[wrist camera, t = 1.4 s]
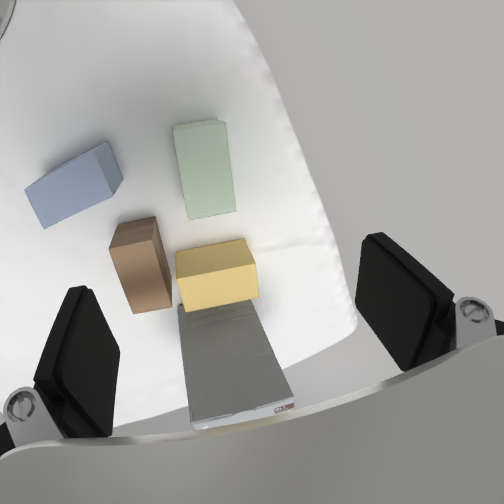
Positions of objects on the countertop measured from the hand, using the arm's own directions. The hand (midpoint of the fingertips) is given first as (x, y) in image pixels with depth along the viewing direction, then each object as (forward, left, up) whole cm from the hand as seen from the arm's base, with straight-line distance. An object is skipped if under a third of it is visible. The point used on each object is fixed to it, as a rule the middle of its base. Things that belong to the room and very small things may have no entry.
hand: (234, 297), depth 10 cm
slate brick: (-1, -11, -19) cm, 22 cm away
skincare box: (+17, -1, -19) cm, 26 cm away
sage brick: (0, 0, -19) cm, 19 cm away
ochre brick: (+10, 0, -19) cm, 22 cm away
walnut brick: (+8, -7, -19) cm, 22 cm away
